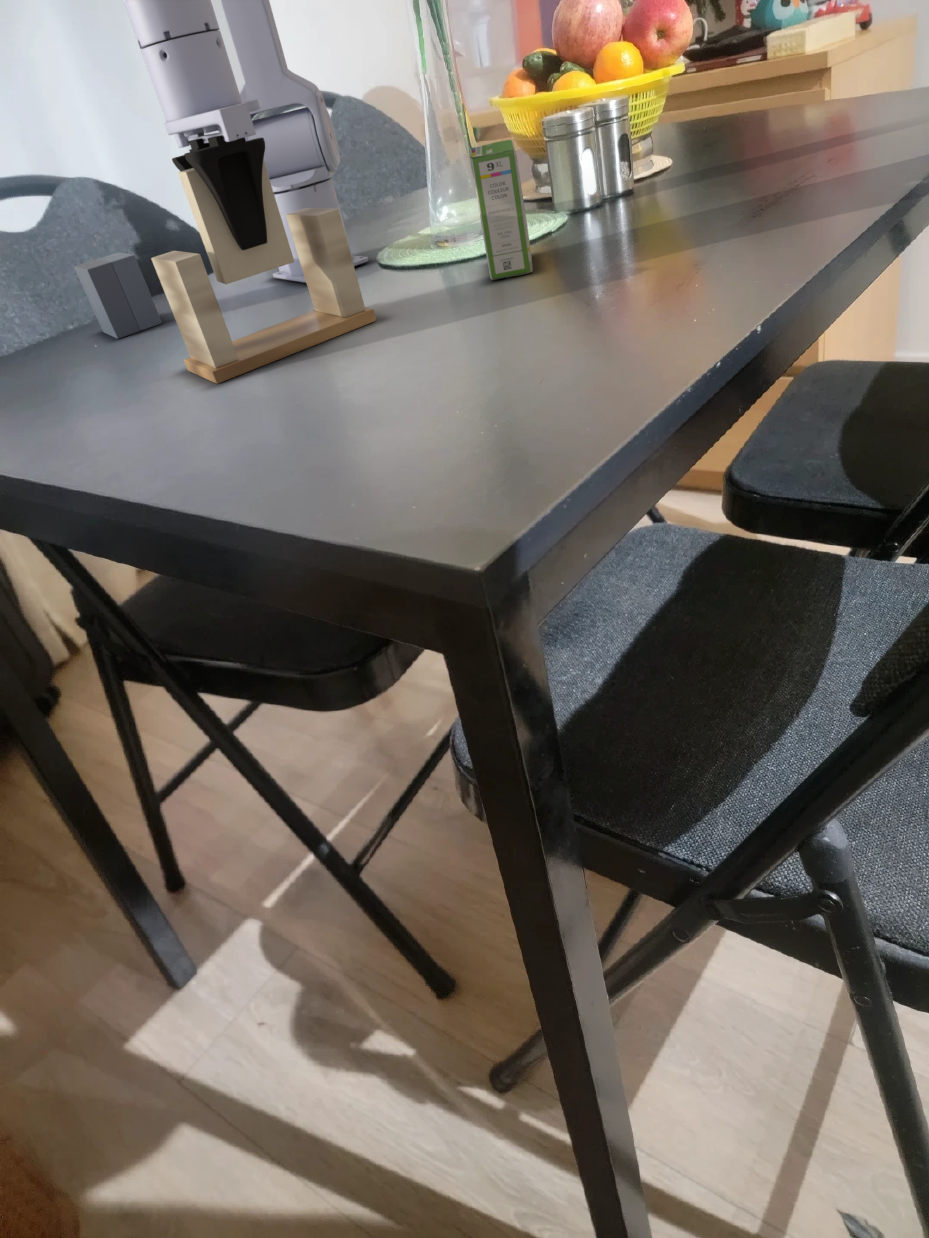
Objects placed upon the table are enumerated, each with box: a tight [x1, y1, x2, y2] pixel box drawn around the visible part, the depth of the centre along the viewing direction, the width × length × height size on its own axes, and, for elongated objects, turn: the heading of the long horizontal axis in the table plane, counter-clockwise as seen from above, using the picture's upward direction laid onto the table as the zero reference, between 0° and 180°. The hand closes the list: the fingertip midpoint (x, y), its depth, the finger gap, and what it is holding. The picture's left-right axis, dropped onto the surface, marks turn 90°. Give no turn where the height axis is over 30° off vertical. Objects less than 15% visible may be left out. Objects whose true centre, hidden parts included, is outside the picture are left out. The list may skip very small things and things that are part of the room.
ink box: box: [461, 103, 534, 281], centre depth 72 cm, size 7×4×13 cm, turn 179°
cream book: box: [177, 160, 294, 285], centre depth 64 cm, size 6×2×8 cm, turn 121°
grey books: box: [73, 251, 163, 340], centre depth 87 cm, size 6×5×7 cm
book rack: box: [150, 208, 377, 385], centre depth 67 cm, size 7×15×9 cm, turn 126°
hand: (248, 245), depth 65 cm, fingers closed on cream book, 2 cm apart
